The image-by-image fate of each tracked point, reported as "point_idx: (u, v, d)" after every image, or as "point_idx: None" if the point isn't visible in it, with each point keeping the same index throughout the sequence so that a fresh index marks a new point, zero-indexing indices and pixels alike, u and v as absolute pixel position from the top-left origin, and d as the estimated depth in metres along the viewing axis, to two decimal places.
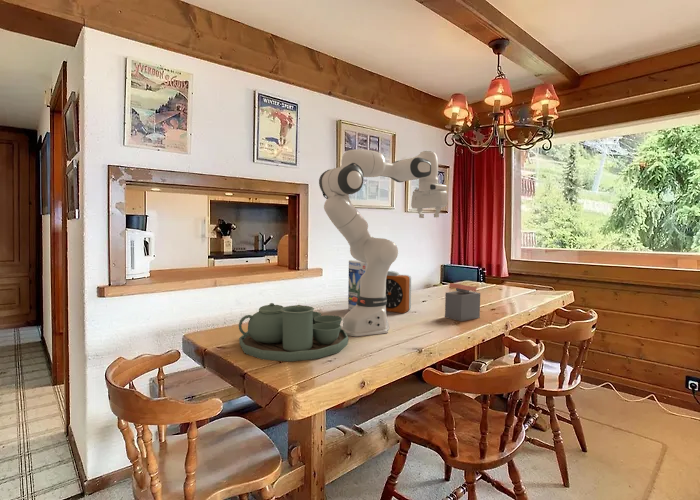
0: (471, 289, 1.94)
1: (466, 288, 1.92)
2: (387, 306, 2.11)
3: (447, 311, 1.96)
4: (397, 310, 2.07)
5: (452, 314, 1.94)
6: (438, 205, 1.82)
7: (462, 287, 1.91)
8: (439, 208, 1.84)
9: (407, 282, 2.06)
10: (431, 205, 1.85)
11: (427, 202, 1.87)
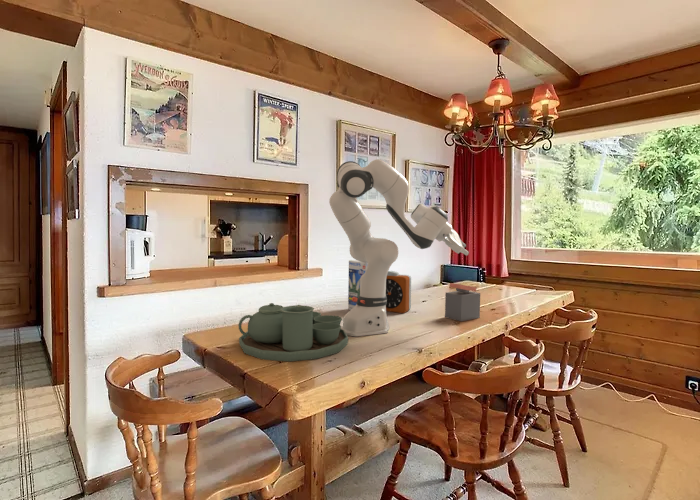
0: (471, 289, 1.94)
1: (466, 288, 1.92)
2: (387, 306, 2.11)
3: (447, 311, 1.96)
4: (397, 311, 2.07)
5: (452, 314, 1.94)
6: (458, 235, 1.89)
7: (462, 287, 1.91)
8: None
9: (407, 282, 2.06)
10: (458, 237, 1.85)
11: (456, 236, 1.82)
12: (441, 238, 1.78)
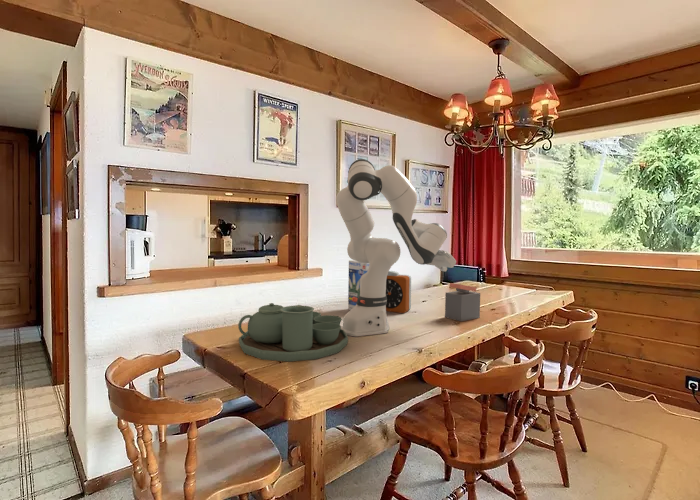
0: (471, 289, 1.94)
1: (466, 288, 1.92)
2: (387, 306, 2.11)
3: (447, 311, 1.96)
4: (397, 311, 2.07)
5: (452, 314, 1.94)
6: None
7: (462, 287, 1.91)
8: None
9: (407, 282, 2.06)
10: None
11: None
12: None
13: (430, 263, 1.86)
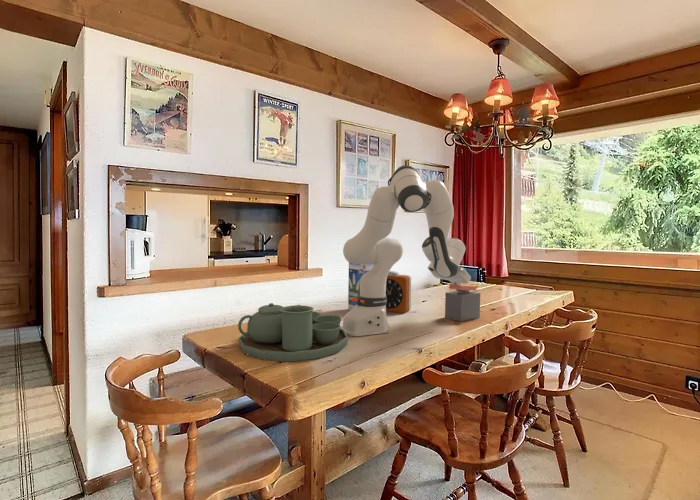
0: (471, 289, 1.94)
1: (466, 288, 1.92)
2: (387, 306, 2.11)
3: (447, 311, 1.96)
4: (397, 311, 2.07)
5: (452, 314, 1.94)
6: None
7: (462, 288, 1.91)
8: None
9: (407, 282, 2.06)
10: None
11: None
12: None
13: (444, 278, 1.93)
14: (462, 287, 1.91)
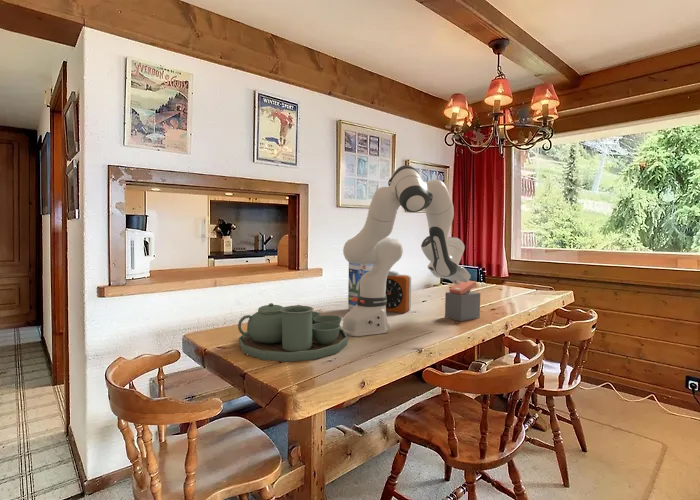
0: (471, 287, 1.94)
1: (466, 290, 1.93)
2: (387, 306, 2.11)
3: (447, 311, 1.96)
4: (397, 311, 2.07)
5: (452, 314, 1.94)
6: None
7: (462, 292, 1.91)
8: None
9: (407, 282, 2.06)
10: None
11: None
12: None
13: (444, 277, 1.94)
14: (462, 291, 1.91)
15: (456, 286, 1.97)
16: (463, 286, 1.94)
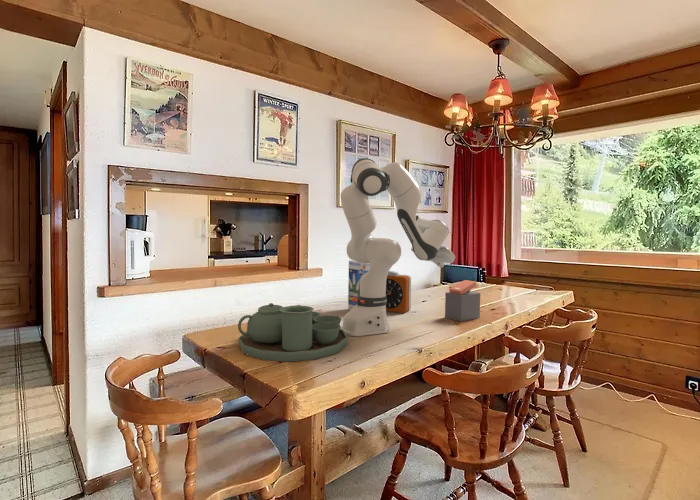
0: (471, 287, 1.94)
1: (466, 290, 1.93)
2: (387, 306, 2.11)
3: (447, 311, 1.96)
4: (397, 311, 2.07)
5: (452, 314, 1.94)
6: None
7: (462, 292, 1.91)
8: None
9: (407, 282, 2.06)
10: None
11: None
12: None
13: None
14: (462, 291, 1.91)
15: (456, 286, 1.97)
16: (463, 286, 1.94)
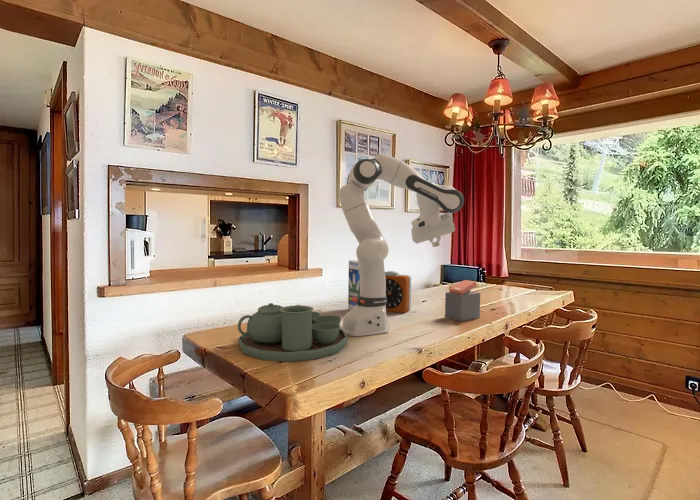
0: (471, 287, 1.94)
1: (466, 290, 1.93)
2: (387, 306, 2.11)
3: (447, 311, 1.96)
4: (397, 310, 2.07)
5: (452, 314, 1.94)
6: None
7: (462, 292, 1.91)
8: (429, 240, 1.89)
9: (407, 282, 2.06)
10: None
11: None
12: (440, 218, 1.86)
13: (429, 236, 1.87)
14: (462, 291, 1.91)
15: (456, 286, 1.97)
16: (463, 286, 1.94)
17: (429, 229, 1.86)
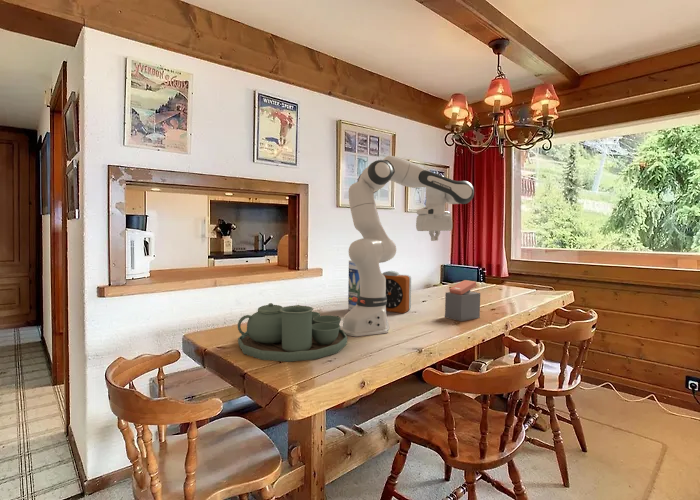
0: (471, 287, 1.94)
1: (466, 290, 1.93)
2: (387, 306, 2.11)
3: (447, 311, 1.96)
4: (397, 311, 2.07)
5: (452, 314, 1.94)
6: None
7: (462, 292, 1.91)
8: (430, 232, 1.89)
9: (407, 282, 2.06)
10: None
11: None
12: None
13: (432, 227, 1.87)
14: (462, 291, 1.91)
15: (456, 286, 1.97)
16: (463, 286, 1.94)
17: (433, 220, 1.88)
